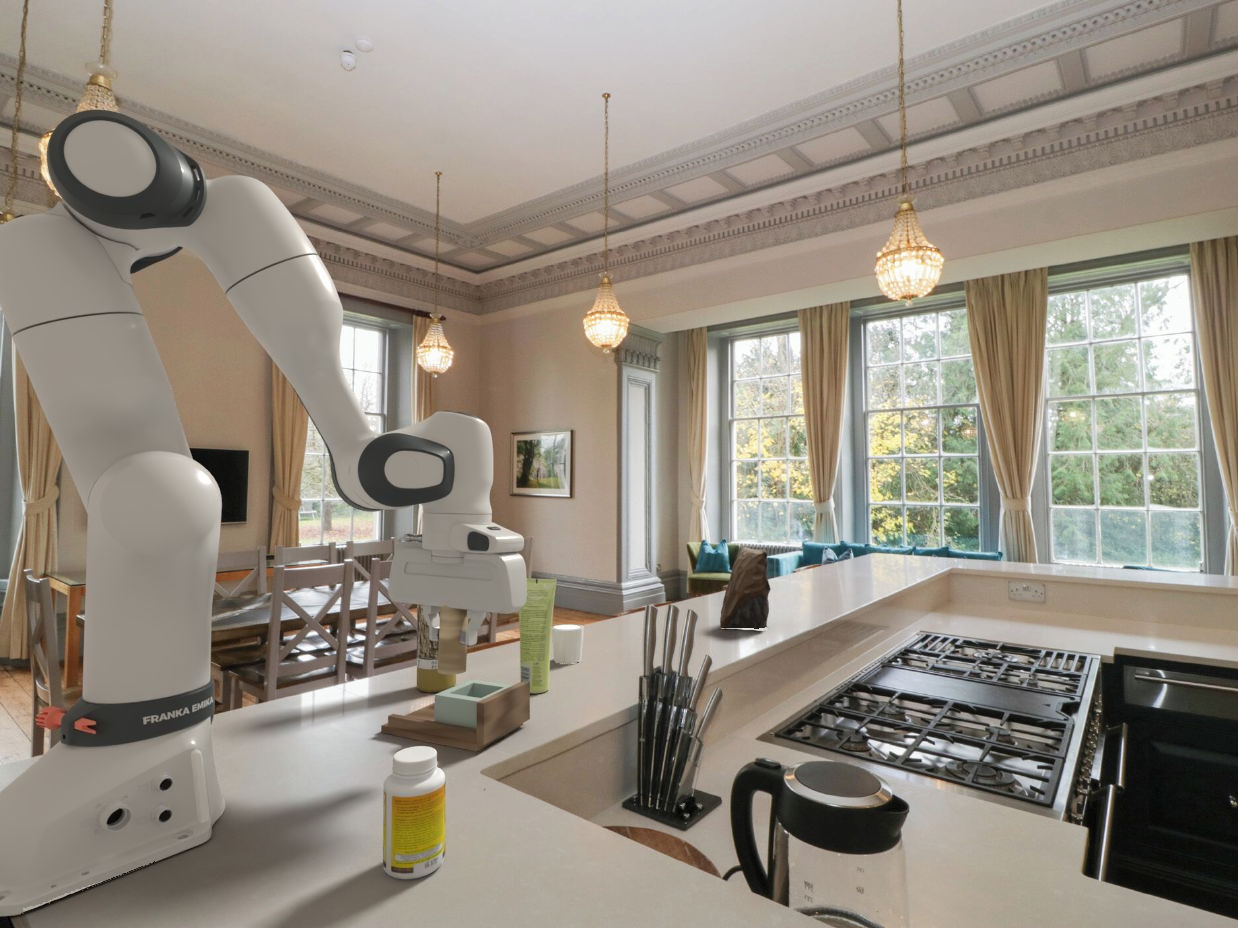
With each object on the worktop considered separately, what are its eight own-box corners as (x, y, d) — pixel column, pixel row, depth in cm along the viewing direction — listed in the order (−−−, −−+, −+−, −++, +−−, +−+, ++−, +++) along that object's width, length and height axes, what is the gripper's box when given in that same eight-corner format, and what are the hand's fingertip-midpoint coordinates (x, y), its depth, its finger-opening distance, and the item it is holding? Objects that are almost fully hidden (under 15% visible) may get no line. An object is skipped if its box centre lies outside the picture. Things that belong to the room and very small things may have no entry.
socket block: (482, 739, 90) (482, 702, 90) (434, 730, 94) (434, 694, 94) (517, 720, 98) (517, 685, 98) (471, 712, 101) (471, 679, 101)
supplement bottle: (456, 864, 62) (457, 752, 62) (402, 890, 58) (402, 771, 58) (425, 842, 66) (425, 737, 66) (371, 866, 62) (372, 754, 62)
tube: (545, 684, 120) (544, 575, 121) (557, 691, 115) (557, 578, 116) (515, 688, 117) (515, 577, 118) (526, 696, 112) (526, 580, 113)
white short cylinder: (547, 658, 138) (547, 624, 139) (579, 655, 140) (579, 622, 141) (554, 666, 132) (554, 631, 132) (588, 663, 134) (587, 628, 134)
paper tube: (461, 682, 121) (462, 545, 122) (448, 694, 114) (448, 548, 115) (425, 681, 121) (426, 545, 122) (410, 693, 115) (411, 548, 116)
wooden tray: (483, 752, 88) (483, 703, 88) (381, 732, 96) (381, 687, 96) (529, 725, 98) (529, 681, 99) (433, 709, 106) (433, 668, 106)
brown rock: (736, 620, 178) (735, 545, 179) (782, 625, 171) (781, 547, 172) (717, 628, 167) (716, 549, 168) (765, 634, 160) (764, 551, 161)
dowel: (453, 675, 84) (456, 603, 84) (431, 672, 85) (434, 601, 86) (471, 669, 87) (474, 600, 87) (449, 666, 88) (452, 598, 89)
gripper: (379, 533, 89) (374, 637, 88) (506, 539, 80) (502, 656, 79) (412, 532, 94) (408, 630, 93) (535, 538, 86) (531, 646, 85)
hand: (452, 642), depth 86 cm, fingers closed on dowel, 4 cm apart
